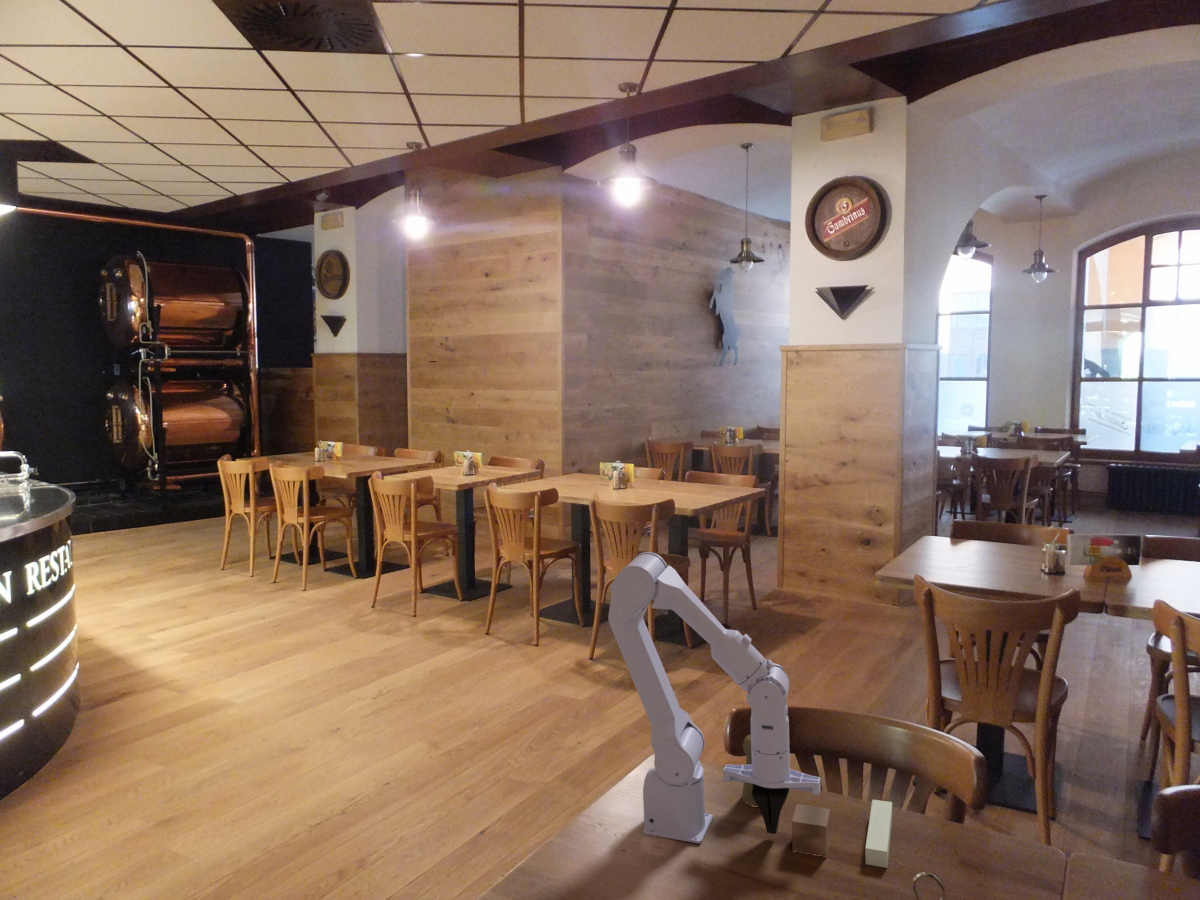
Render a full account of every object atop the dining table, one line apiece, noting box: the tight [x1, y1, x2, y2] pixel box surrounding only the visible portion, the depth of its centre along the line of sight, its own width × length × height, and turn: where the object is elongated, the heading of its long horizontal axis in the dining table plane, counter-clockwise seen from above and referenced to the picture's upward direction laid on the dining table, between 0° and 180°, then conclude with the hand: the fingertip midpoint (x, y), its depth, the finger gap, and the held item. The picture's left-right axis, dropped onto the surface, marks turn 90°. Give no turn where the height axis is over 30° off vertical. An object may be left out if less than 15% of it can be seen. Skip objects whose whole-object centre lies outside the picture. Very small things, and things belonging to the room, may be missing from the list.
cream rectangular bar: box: [864, 799, 893, 869], centre depth 129 cm, size 3×14×2 cm, turn 158°
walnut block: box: [791, 803, 832, 857], centre depth 128 cm, size 5×5×5 cm
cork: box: [741, 733, 758, 806], centre depth 141 cm, size 6×6×11 cm
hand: (772, 830), depth 130 cm, fingers closed
